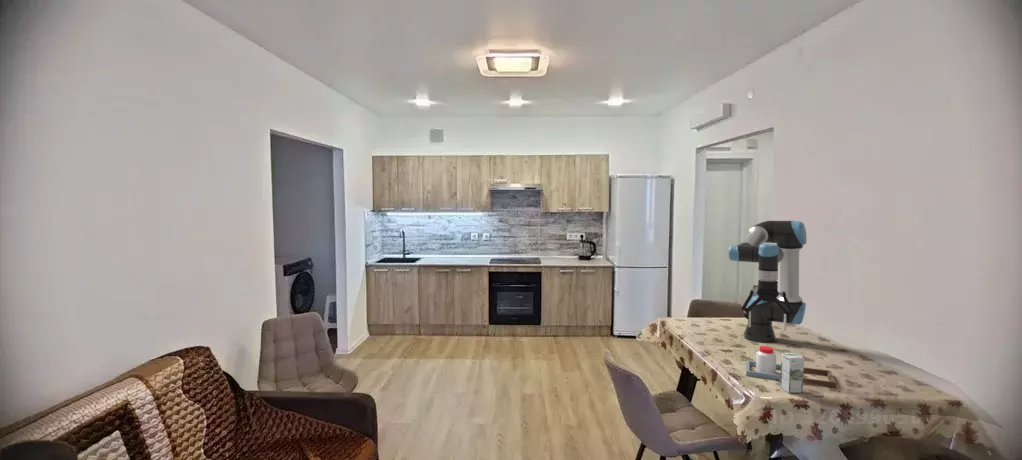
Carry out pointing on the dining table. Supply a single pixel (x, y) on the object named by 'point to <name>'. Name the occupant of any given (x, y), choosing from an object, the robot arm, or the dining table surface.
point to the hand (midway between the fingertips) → (766, 328)
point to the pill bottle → (766, 360)
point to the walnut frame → (819, 382)
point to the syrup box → (792, 372)
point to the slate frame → (761, 374)
